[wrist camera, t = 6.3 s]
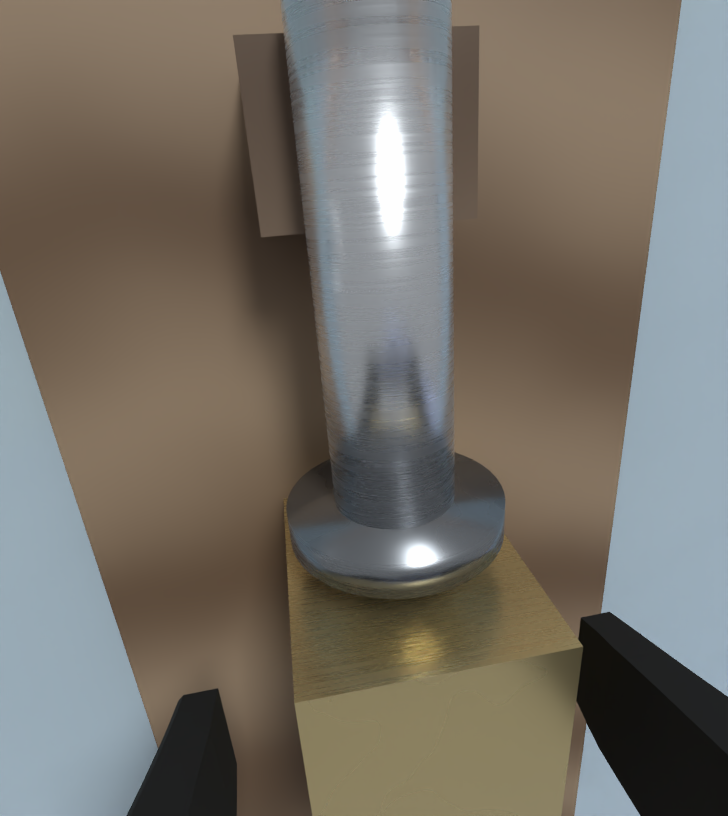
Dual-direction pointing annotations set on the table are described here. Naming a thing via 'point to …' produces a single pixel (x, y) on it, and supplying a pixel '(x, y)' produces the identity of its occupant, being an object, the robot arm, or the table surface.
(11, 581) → the table surface
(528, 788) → the wooden block
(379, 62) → the shafts
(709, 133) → the table surface
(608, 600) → the table surface
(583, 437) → the shaft bench
